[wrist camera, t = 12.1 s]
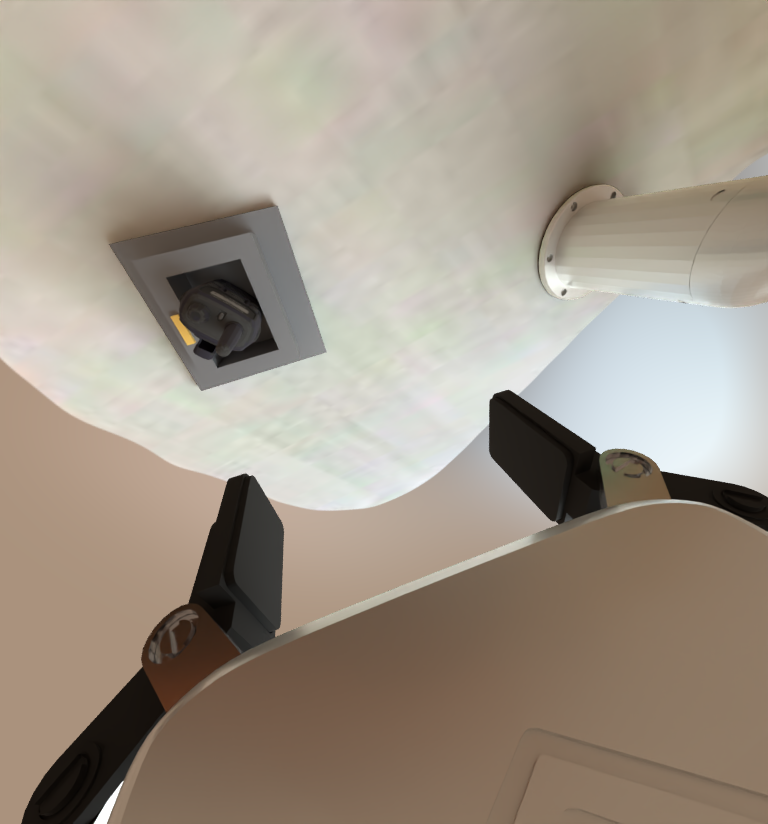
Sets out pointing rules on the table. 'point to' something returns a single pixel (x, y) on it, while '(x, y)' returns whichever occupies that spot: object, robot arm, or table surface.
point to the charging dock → (241, 266)
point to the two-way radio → (220, 318)
